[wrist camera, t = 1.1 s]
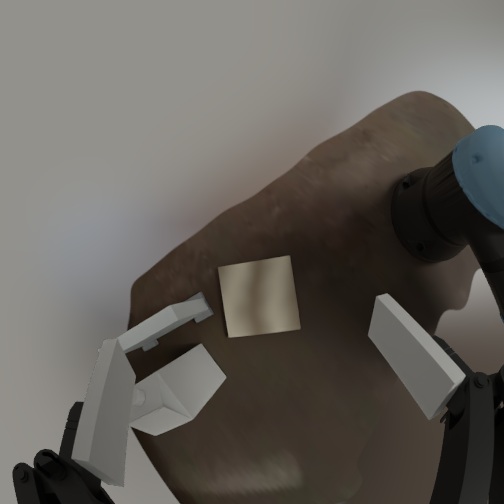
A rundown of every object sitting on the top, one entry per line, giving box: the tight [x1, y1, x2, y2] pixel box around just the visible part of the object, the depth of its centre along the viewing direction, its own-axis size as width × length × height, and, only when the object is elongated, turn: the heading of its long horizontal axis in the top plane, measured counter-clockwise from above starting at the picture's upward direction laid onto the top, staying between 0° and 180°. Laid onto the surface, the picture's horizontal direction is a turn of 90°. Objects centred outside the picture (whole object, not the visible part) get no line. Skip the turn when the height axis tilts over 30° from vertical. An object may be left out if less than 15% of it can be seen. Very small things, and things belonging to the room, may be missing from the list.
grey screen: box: [97, 292, 214, 353], centre depth 38 cm, size 15×4×12 cm, turn 121°
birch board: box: [218, 255, 301, 337], centre depth 41 cm, size 11×11×1 cm
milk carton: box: [129, 344, 226, 436], centre depth 33 cm, size 7×7×19 cm
